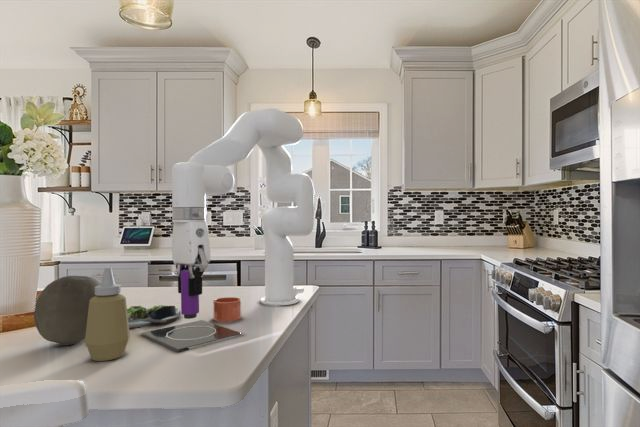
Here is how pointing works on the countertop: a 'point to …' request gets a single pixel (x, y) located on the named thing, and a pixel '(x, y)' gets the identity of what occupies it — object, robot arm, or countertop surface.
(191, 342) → the slate board
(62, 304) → the cantaloupe
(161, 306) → the salad plate
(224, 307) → the pen pot
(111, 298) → the squeeze bottle
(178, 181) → the robot arm
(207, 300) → the countertop surface
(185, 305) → the cylinder
